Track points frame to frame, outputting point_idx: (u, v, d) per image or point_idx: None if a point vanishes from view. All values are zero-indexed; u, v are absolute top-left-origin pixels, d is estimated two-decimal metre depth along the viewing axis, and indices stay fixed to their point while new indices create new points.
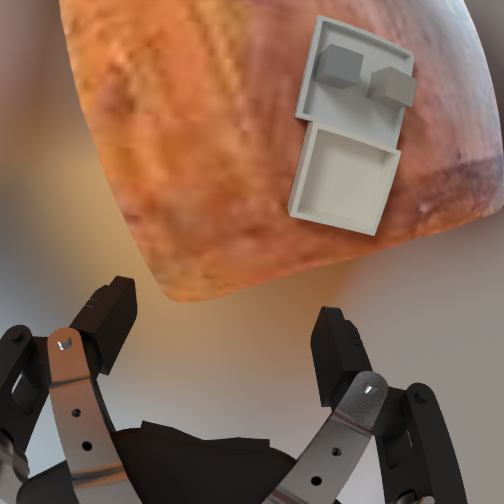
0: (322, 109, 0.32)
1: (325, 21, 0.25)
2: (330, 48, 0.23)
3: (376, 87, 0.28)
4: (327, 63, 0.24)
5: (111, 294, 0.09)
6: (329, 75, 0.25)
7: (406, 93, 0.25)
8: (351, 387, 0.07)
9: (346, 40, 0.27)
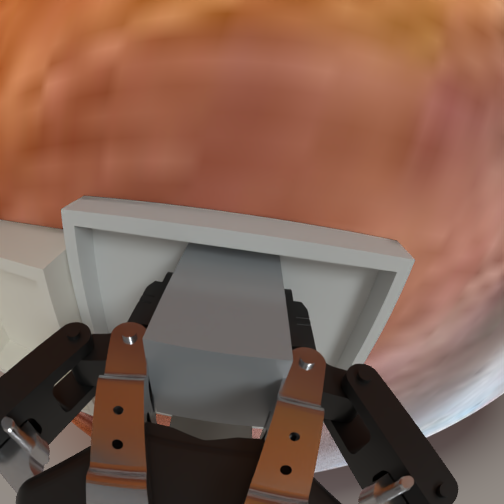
0: (118, 267, 0.13)
1: (392, 276, 0.11)
2: (268, 358, 0.07)
3: None
4: (190, 349, 0.07)
5: None
6: None
7: None
8: None
9: (334, 317, 0.14)
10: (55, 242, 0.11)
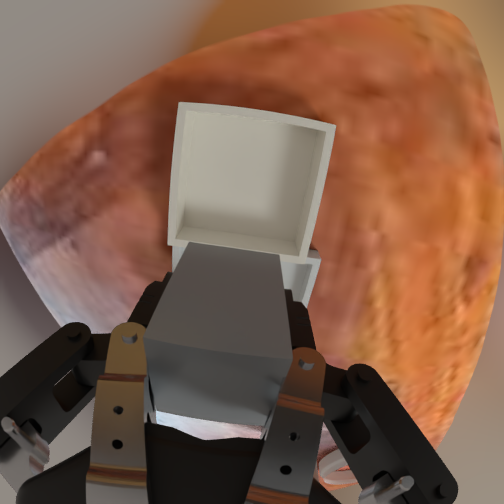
0: (282, 266, 0.29)
1: None
2: (268, 356, 0.07)
3: None
4: (190, 348, 0.07)
5: None
6: None
7: None
8: None
9: None
10: None
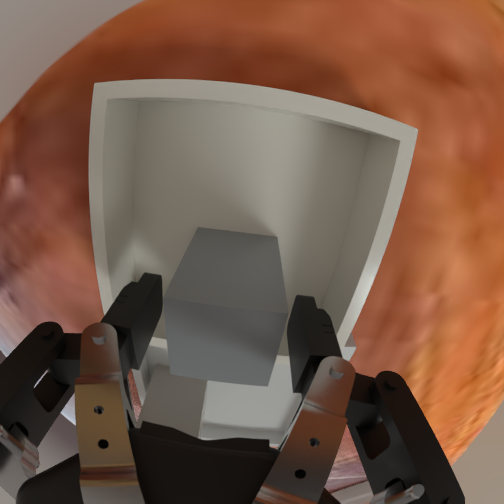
0: None
1: None
2: (268, 311, 0.09)
3: None
4: (203, 305, 0.09)
5: (142, 290, 0.10)
6: None
7: None
8: (315, 371, 0.08)
9: (251, 424, 0.23)
10: None
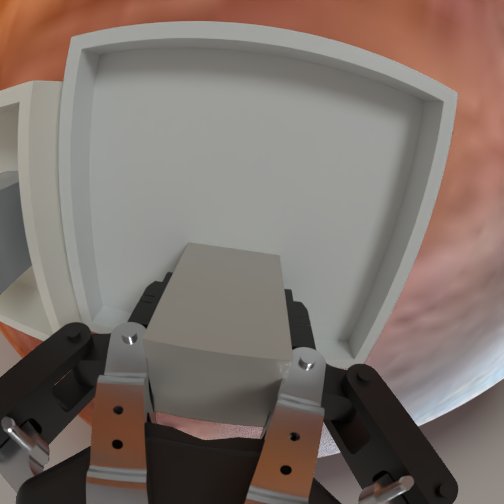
0: (118, 109, 0.09)
1: (439, 109, 0.08)
2: None
3: (208, 281, 0.10)
4: None
5: None
6: None
7: (194, 403, 0.08)
8: None
9: (381, 174, 0.10)
10: None
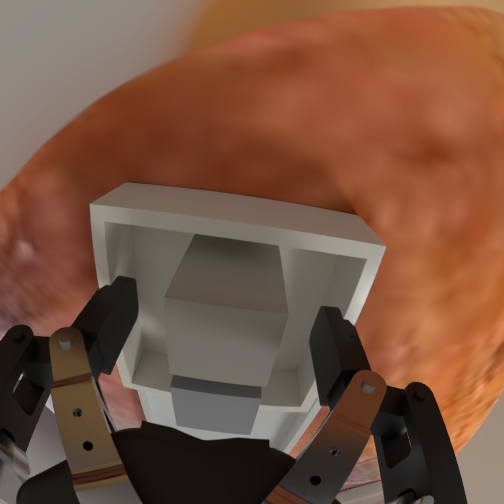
0: None
1: None
2: (246, 397, 0.11)
3: (217, 256, 0.11)
4: (199, 392, 0.11)
5: (113, 294, 0.09)
6: None
7: (204, 361, 0.10)
8: (349, 386, 0.07)
9: None
10: None
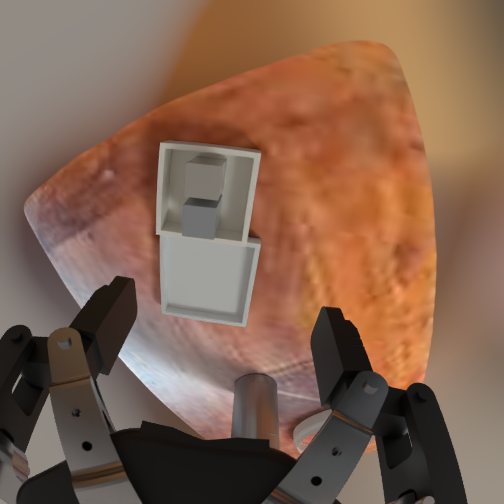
0: (235, 249, 0.41)
1: (239, 322, 0.46)
2: (211, 208, 0.32)
3: (203, 159, 0.32)
4: (193, 206, 0.32)
5: (111, 294, 0.09)
6: None
7: (196, 187, 0.31)
8: (351, 387, 0.07)
9: (220, 308, 0.46)
10: None
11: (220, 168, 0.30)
